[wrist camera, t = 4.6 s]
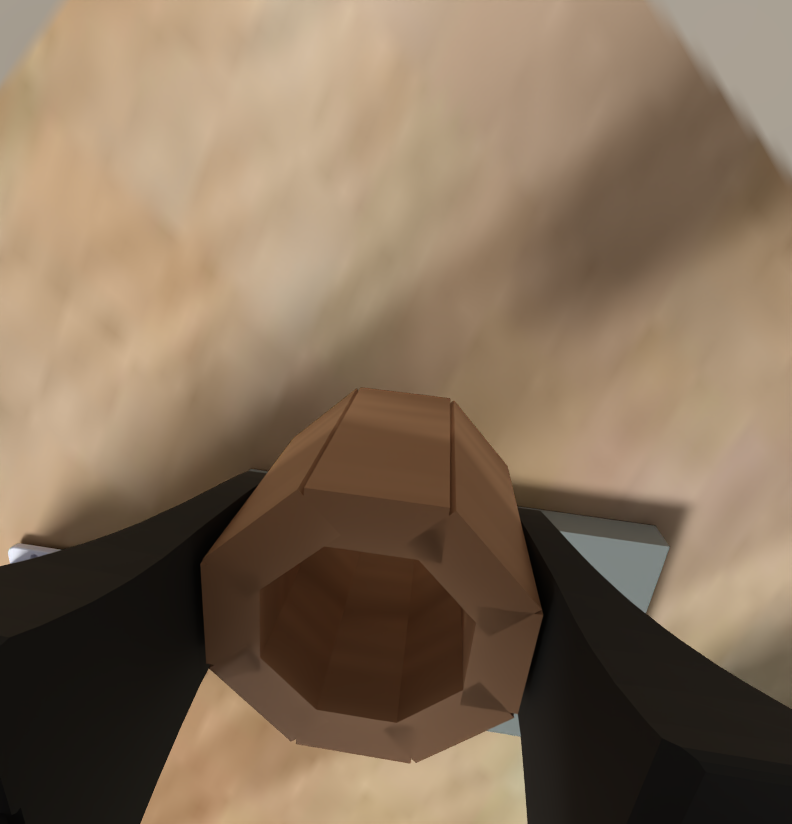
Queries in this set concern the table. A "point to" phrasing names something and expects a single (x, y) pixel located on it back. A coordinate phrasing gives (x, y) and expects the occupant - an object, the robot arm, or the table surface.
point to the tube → (377, 583)
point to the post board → (609, 560)
